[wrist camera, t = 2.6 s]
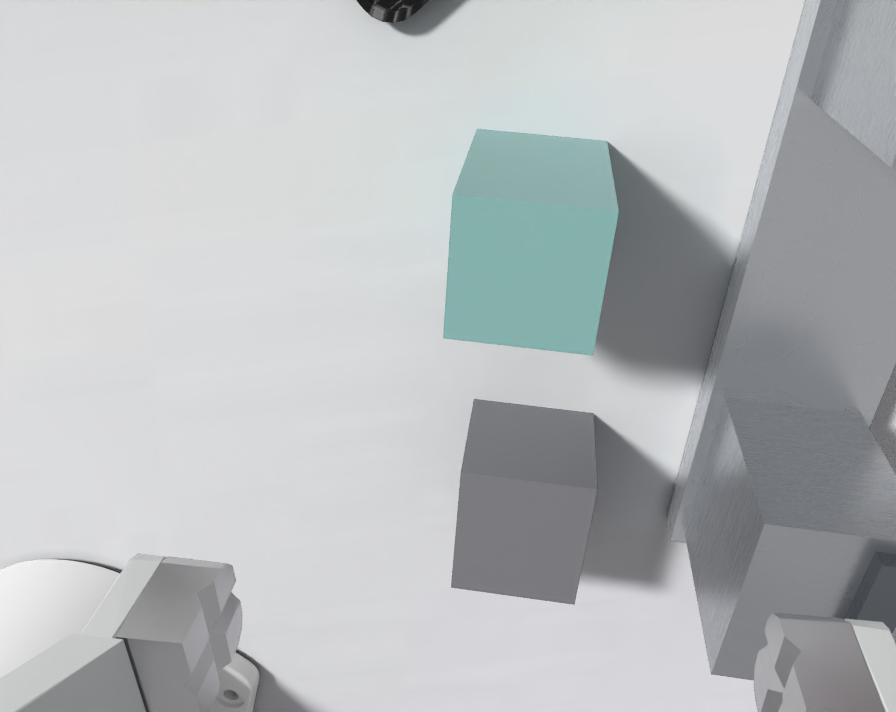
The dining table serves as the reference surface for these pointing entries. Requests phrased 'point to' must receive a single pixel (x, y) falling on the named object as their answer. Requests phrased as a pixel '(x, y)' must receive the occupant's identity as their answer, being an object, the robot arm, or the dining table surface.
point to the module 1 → (530, 242)
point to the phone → (391, 9)
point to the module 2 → (525, 501)
